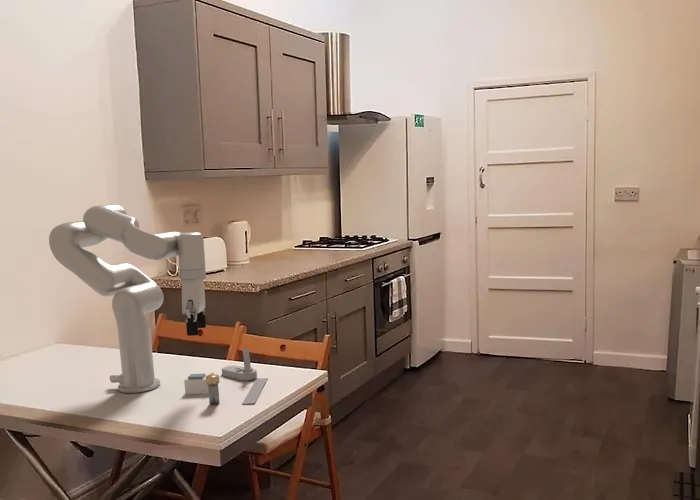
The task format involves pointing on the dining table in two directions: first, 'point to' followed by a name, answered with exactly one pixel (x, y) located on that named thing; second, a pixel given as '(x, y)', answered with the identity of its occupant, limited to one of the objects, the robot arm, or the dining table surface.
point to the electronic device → (241, 369)
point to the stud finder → (196, 384)
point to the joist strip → (255, 391)
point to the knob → (213, 389)
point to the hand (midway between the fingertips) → (196, 331)
